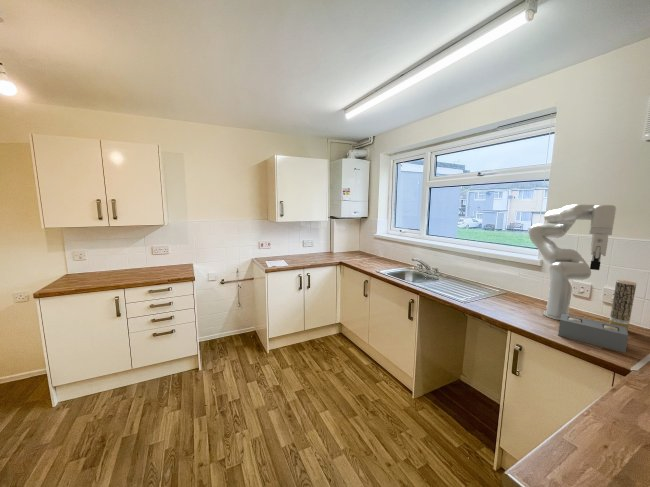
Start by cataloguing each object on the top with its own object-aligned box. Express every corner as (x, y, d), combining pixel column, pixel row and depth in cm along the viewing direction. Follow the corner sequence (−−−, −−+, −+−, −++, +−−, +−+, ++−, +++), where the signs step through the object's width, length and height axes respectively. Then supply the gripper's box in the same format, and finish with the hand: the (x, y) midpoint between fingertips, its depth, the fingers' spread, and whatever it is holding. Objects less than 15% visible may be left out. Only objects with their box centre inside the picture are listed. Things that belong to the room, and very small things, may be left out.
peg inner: (566, 333, 131) (568, 319, 130) (566, 330, 135) (568, 317, 134) (578, 336, 128) (580, 322, 127) (578, 333, 132) (581, 319, 131)
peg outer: (601, 342, 123) (604, 327, 122) (601, 339, 126) (603, 324, 125) (615, 346, 120) (618, 330, 119) (614, 342, 123) (617, 327, 122)
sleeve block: (558, 335, 131) (560, 319, 130) (559, 328, 139) (561, 313, 138) (625, 352, 116) (628, 335, 115) (623, 343, 124) (626, 327, 123)
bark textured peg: (631, 332, 136) (640, 284, 132) (615, 331, 137) (624, 283, 133) (620, 326, 142) (628, 280, 139) (604, 325, 143) (612, 279, 140)
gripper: (613, 232, 120) (606, 273, 122) (611, 231, 130) (605, 268, 133) (589, 231, 125) (583, 270, 127) (589, 229, 136) (584, 265, 138)
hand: (594, 269), depth 130 cm, fingers closed
